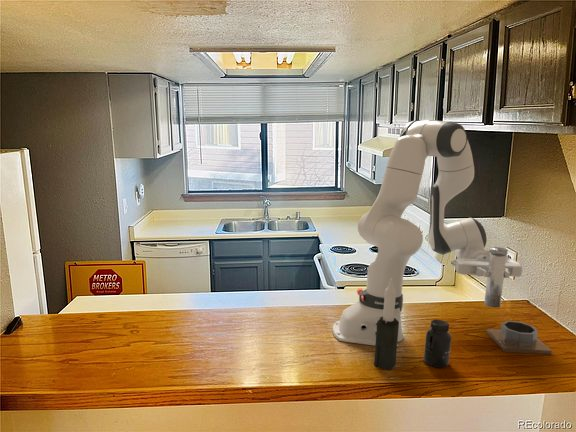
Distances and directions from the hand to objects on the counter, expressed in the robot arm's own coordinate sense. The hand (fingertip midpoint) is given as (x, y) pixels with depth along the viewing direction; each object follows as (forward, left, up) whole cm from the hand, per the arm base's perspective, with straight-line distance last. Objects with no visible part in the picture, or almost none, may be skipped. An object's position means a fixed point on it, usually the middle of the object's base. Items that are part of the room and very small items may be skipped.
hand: (497, 274), depth 139 cm
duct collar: (+9, +1, -22) cm, 24 cm away
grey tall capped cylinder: (0, +1, -10) cm, 10 cm away
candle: (-36, -18, -22) cm, 46 cm away
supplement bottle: (-21, -15, -22) cm, 34 cm away
